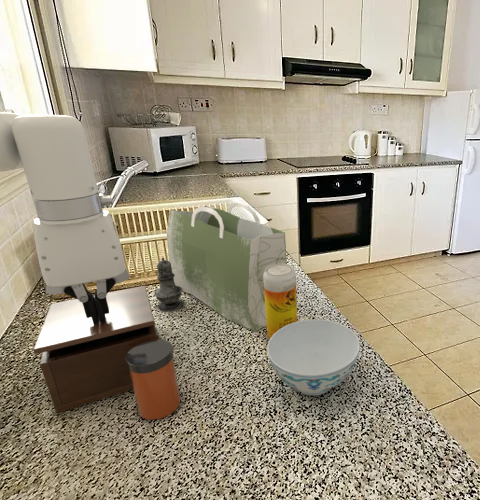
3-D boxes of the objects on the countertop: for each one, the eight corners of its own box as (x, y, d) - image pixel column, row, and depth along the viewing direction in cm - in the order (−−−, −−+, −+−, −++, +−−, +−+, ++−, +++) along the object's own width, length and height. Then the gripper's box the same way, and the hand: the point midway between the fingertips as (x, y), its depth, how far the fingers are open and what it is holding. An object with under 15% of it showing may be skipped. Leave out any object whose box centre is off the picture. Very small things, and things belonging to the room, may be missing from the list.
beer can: (284, 348, 72) (280, 278, 67) (261, 338, 75) (256, 270, 70) (303, 333, 77) (302, 267, 71) (281, 324, 80) (278, 260, 74)
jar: (129, 410, 57) (115, 356, 53) (164, 386, 62) (154, 335, 58) (155, 426, 54) (143, 370, 51) (190, 399, 59) (181, 347, 56)
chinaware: (261, 365, 67) (259, 329, 65) (338, 347, 73) (339, 312, 70) (281, 427, 55) (279, 385, 52) (373, 399, 60) (375, 360, 57)
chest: (165, 378, 64) (156, 334, 60) (56, 413, 56) (39, 364, 53) (153, 327, 78) (146, 289, 74) (65, 349, 70) (52, 308, 67)
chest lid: (155, 325, 59) (154, 320, 59) (34, 354, 51) (33, 349, 51) (145, 289, 74) (145, 285, 74) (52, 307, 67) (51, 303, 67)
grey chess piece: (150, 308, 85) (141, 259, 80) (171, 296, 90) (163, 250, 86) (170, 313, 83) (161, 264, 78) (190, 301, 88) (183, 254, 84)
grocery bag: (300, 306, 87) (297, 210, 79) (253, 332, 77) (244, 225, 68) (217, 270, 105) (207, 188, 96) (169, 287, 94) (154, 197, 86)
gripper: (128, 196, 60) (149, 297, 66) (6, 207, 52) (43, 320, 59) (132, 207, 54) (154, 317, 60) (-6, 221, 46) (37, 345, 53)
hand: (99, 318), depth 60 cm, fingers closed
